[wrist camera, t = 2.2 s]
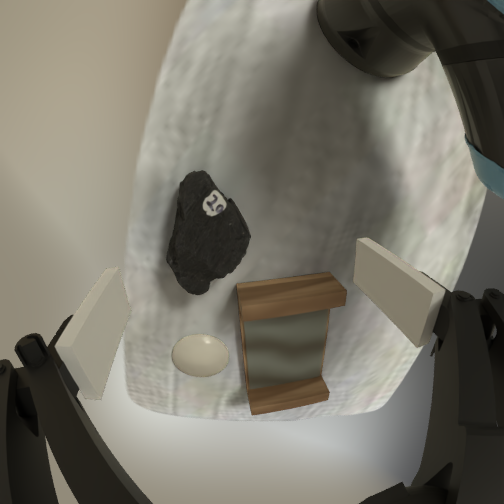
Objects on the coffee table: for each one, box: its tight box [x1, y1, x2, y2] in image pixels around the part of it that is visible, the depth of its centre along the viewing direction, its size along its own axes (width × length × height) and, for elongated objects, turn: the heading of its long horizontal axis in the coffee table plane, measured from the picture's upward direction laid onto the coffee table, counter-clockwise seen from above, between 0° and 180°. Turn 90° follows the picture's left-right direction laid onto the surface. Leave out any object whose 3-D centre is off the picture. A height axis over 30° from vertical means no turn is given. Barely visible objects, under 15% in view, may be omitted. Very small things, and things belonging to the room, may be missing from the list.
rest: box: [237, 272, 347, 415], centre depth 35 cm, size 20×12×5 cm, turn 3°
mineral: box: [166, 170, 251, 295], centre depth 28 cm, size 10×9×6 cm
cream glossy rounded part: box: [172, 334, 229, 377], centre depth 37 cm, size 8×8×1 cm
